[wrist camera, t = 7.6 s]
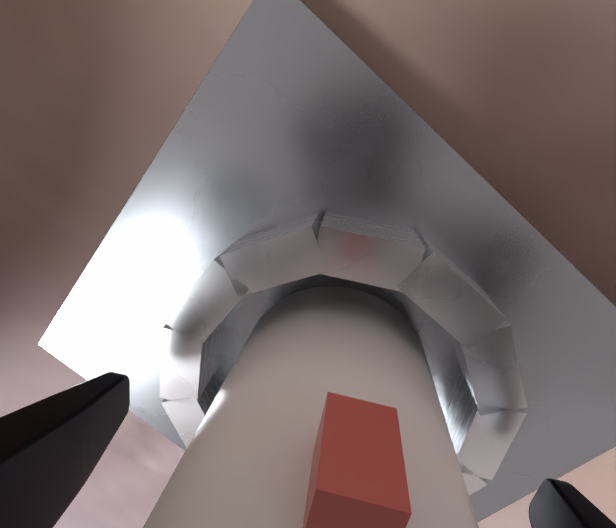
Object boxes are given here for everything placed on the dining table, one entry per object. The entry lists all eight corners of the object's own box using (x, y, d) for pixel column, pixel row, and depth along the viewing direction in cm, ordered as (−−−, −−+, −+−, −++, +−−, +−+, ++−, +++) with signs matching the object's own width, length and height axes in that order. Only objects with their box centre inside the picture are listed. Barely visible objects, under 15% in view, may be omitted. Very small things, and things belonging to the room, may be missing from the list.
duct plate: (686, 380, 9) (774, 445, 7) (366, 564, 13) (368, 637, 11) (277, -15, 8) (249, -71, 6) (53, 334, 12) (-9, 374, 10)
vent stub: (398, 455, 11) (462, 968, 4) (238, 415, 11) (56, 830, 4) (462, 280, 9) (803, 750, 2) (262, 238, 9) (-11, 521, 2)
